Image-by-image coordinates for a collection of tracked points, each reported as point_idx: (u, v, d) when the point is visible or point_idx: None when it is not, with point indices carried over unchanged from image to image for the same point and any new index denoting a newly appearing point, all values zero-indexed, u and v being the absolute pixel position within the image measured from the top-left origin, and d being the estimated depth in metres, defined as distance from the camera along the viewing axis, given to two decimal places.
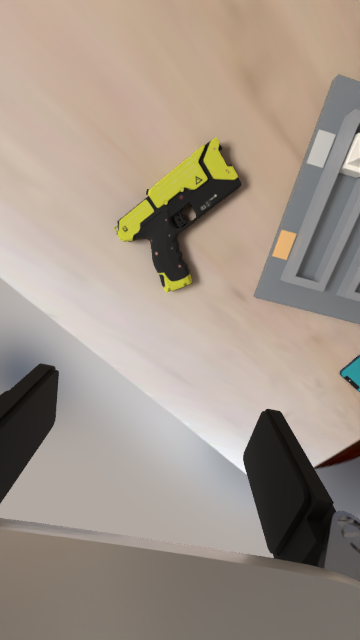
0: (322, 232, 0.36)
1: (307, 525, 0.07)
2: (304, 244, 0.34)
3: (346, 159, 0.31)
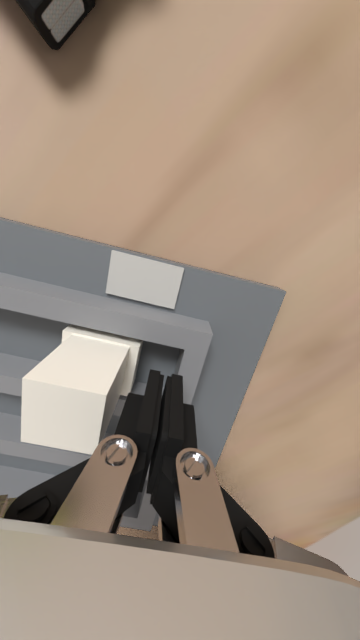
0: None
1: (162, 460, 0.08)
2: None
3: (84, 332, 0.12)
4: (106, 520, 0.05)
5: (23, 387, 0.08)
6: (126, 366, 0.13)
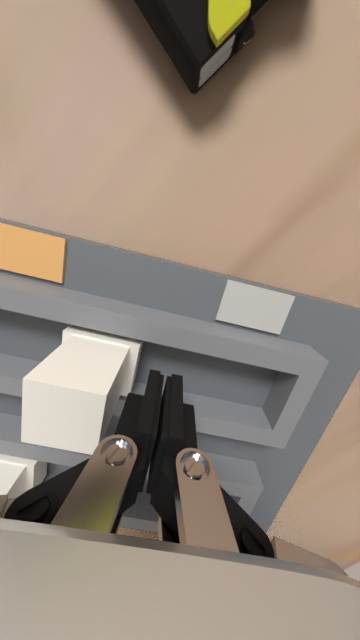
0: None
1: (162, 460, 0.08)
2: (15, 300, 0.12)
3: (84, 333, 0.12)
4: (106, 520, 0.05)
5: (23, 388, 0.09)
6: (126, 366, 0.13)
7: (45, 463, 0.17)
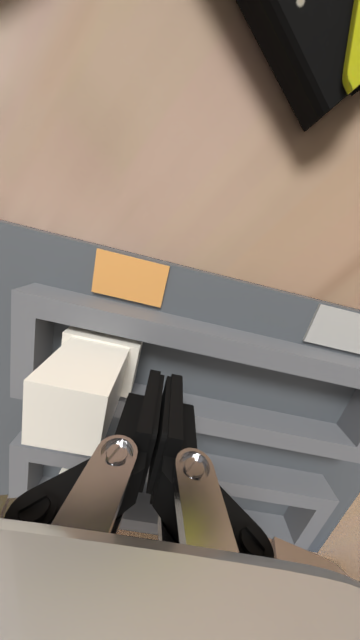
0: (165, 367, 0.15)
1: (162, 460, 0.08)
2: (129, 327, 0.12)
3: (83, 334, 0.12)
4: (106, 520, 0.05)
5: (24, 390, 0.08)
6: (126, 368, 0.13)
7: None
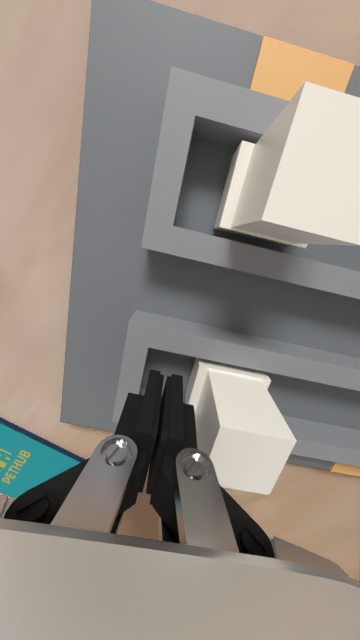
0: None
1: (162, 460, 0.08)
2: None
3: None
4: (106, 520, 0.05)
5: (295, 108, 0.06)
6: None
7: None
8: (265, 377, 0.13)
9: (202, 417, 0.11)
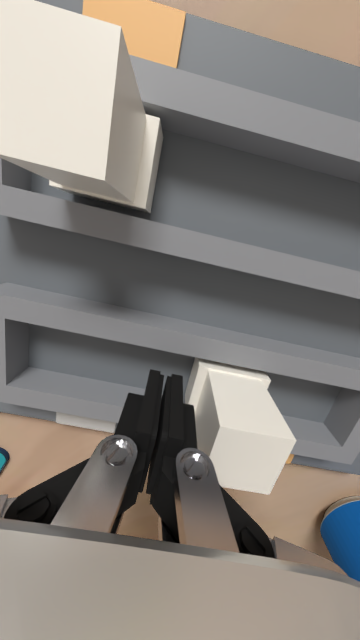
0: (179, 193, 0.12)
1: (162, 460, 0.08)
2: None
3: None
4: (106, 520, 0.05)
5: None
6: (142, 152, 0.09)
7: None
8: (265, 377, 0.13)
9: (202, 417, 0.11)
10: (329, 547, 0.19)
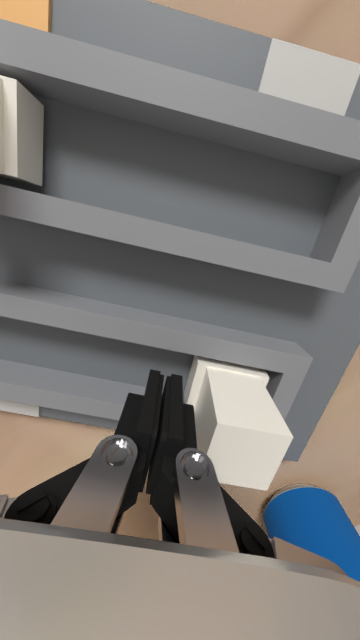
0: (71, 165, 0.11)
1: (162, 460, 0.08)
2: None
3: None
4: (106, 520, 0.05)
5: None
6: (3, 116, 0.09)
7: None
8: (263, 375, 0.13)
9: (201, 414, 0.12)
10: (269, 535, 0.19)
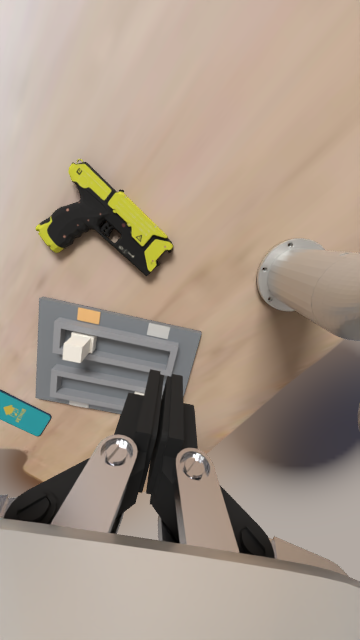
0: (102, 343, 0.45)
1: (162, 460, 0.08)
2: (87, 330, 0.42)
3: (77, 333, 0.42)
4: (106, 520, 0.05)
5: (63, 346, 0.38)
6: (90, 343, 0.42)
7: None
8: None
9: None
10: None
